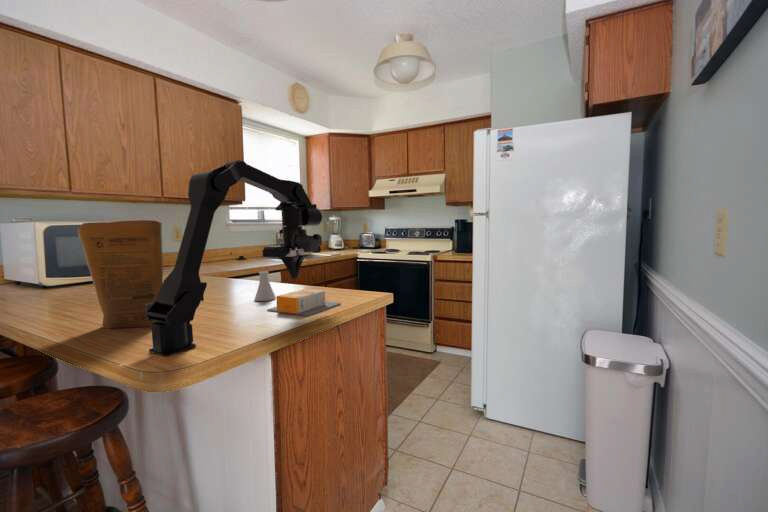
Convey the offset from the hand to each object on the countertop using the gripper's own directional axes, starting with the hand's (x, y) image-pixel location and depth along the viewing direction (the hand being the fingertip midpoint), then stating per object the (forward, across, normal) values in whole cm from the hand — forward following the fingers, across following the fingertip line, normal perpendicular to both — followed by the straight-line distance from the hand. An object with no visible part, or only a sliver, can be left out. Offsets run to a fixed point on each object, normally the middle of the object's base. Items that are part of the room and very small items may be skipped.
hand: (294, 278), depth 103 cm
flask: (+10, +9, +23) cm, 27 cm away
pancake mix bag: (+10, -30, +30) cm, 44 cm away
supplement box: (+7, -4, 0) cm, 8 cm away
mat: (+10, +5, +1) cm, 11 cm away
